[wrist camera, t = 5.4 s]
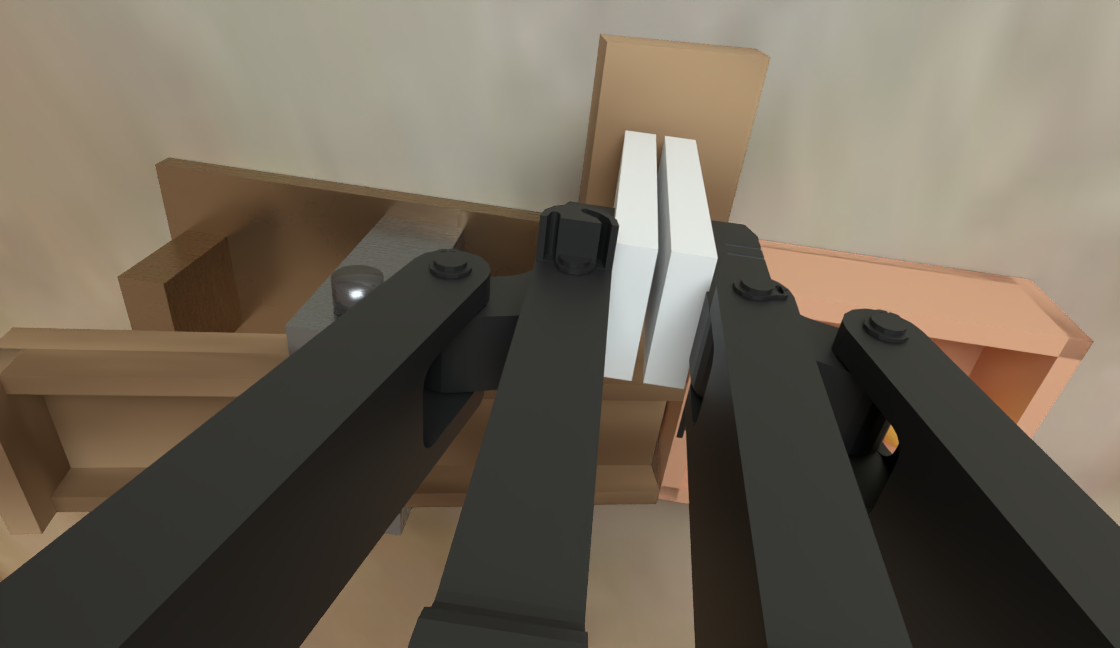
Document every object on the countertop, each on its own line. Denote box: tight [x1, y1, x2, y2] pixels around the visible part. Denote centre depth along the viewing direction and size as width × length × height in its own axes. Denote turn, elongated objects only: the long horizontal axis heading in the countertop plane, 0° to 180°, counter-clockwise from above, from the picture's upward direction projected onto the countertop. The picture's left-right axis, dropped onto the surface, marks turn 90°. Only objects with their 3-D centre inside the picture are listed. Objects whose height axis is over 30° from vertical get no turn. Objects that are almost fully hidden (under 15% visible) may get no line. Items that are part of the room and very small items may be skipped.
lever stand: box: [118, 158, 542, 535], centre depth 23 cm, size 10×20×8 cm, turn 84°
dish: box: [658, 240, 1094, 504], centre depth 25 cm, size 9×11×4 cm
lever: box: [0, 34, 770, 534], centre depth 18 cm, size 14×20×3 cm
